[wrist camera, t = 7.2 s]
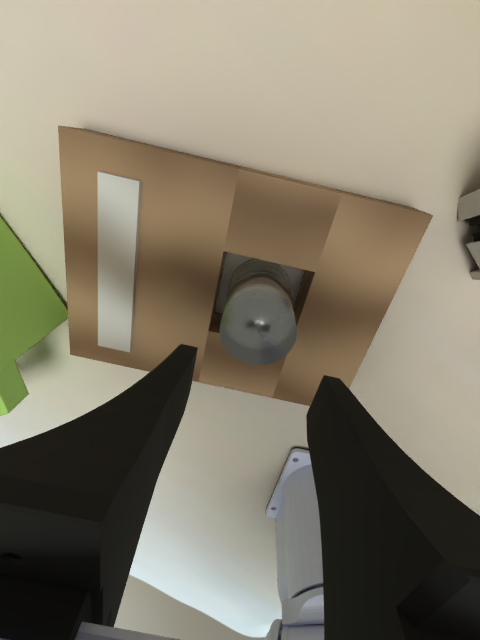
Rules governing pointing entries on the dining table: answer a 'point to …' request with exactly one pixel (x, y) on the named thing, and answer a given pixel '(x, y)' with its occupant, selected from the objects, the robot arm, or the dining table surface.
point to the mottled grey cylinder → (258, 314)
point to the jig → (220, 261)
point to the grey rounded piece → (476, 210)
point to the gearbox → (21, 314)
